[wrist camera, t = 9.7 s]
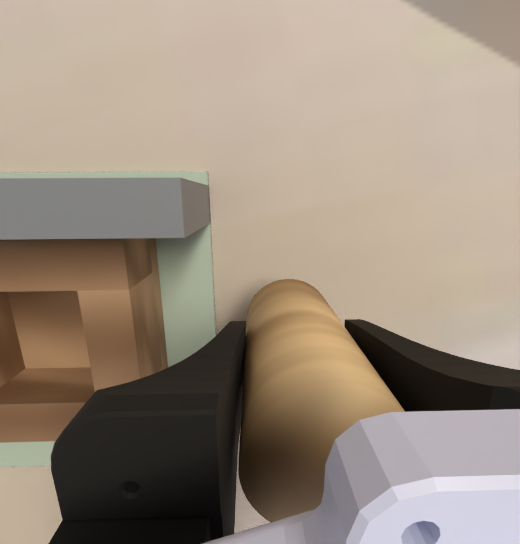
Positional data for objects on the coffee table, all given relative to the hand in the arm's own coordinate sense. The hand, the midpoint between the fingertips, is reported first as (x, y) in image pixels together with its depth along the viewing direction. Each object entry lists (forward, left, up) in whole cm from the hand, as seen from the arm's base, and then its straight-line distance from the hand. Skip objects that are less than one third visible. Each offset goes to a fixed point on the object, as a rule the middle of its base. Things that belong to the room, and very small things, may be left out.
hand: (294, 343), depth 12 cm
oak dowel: (0, 0, -2) cm, 2 cm away
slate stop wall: (+5, +12, -6) cm, 14 cm away
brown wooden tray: (-1, +12, -5) cm, 13 cm away
